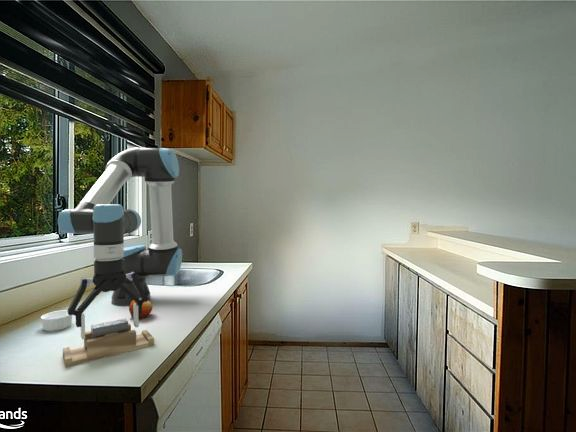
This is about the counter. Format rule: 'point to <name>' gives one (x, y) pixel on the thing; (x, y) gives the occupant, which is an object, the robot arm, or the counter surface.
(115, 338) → the rail
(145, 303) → the fruit
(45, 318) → the ramekin
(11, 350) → the counter surface
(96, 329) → the clip
